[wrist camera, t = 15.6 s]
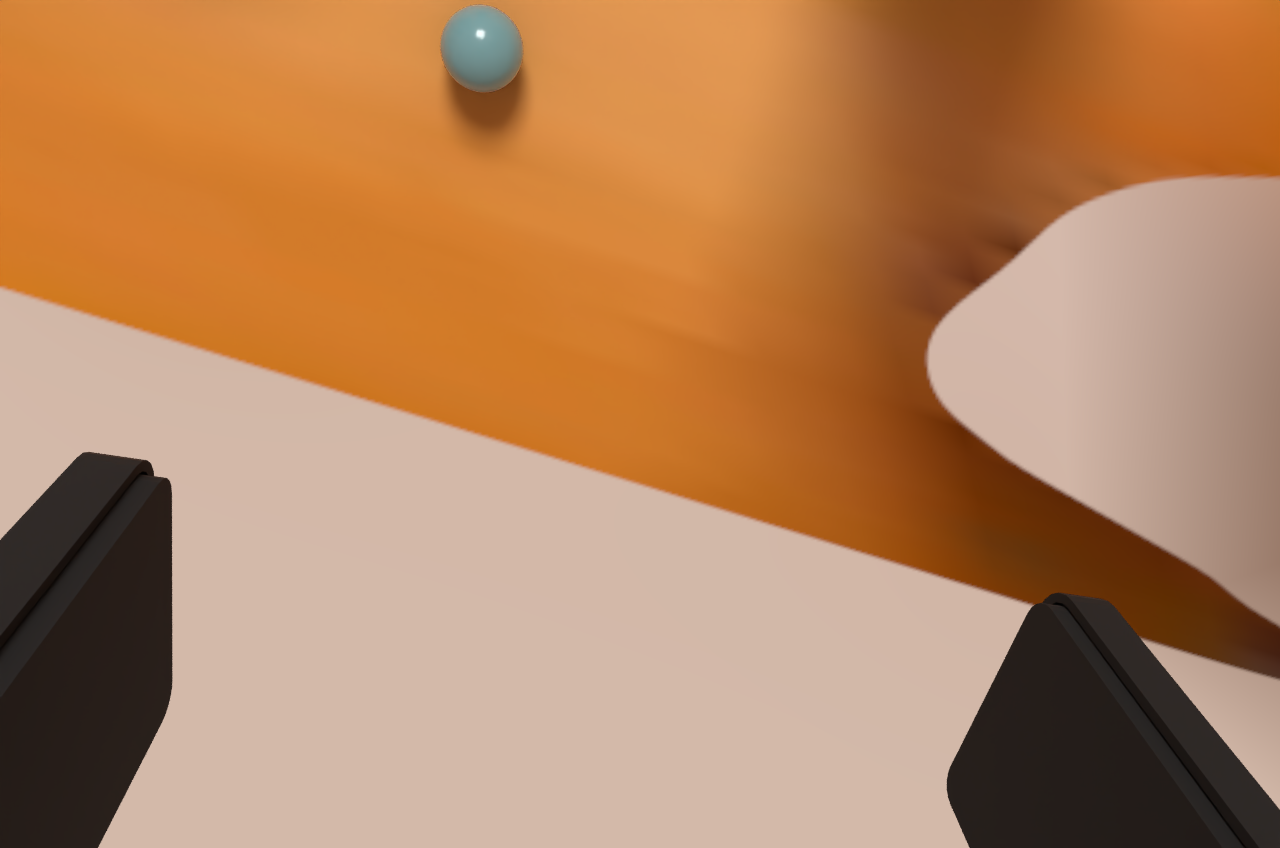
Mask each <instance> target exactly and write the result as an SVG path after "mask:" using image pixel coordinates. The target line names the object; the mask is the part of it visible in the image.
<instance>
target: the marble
mask: <svg viewBox="0 0 1280 848" xmlns="http://www.w3.org/2000/svg"><path fill="white" fill-rule="evenodd" d="M440 50H441V56H442V60H443V63H444V65H445V67H446V69H447V71H448V72H449V74H450V75H451V77H452V78H453V79H454V80H455V81H456V82H457V83H459V84H460V85H462V86H463V87H465V88H467V89H469V90H472V91H475V92H483V93H487V92H494V91H497V90H499V89H501V88H503V87H505V86H506V85H508V84H509V83H510V82H511V81H512V80H513V79H514V78H515V76H516V75H517V73H518V71H519V69H520V67H521V64H522V60H523V42H522V38H521V35H520V33H519V30H518V28H517V26H516V25H515V24H514V22H513V21H512V20H511V19H510V17H508V16H507V15H506V14H505V13H504V12H502V11H500V10H499V9H497V8H494V7H492V6H488V5H482V4H479V5H471V6H467V7H464V8H462V9H460V10H459V11H457V12H456V13H455V14H454V15H453V16H451V18H450V19H449V20H448V22H447V23H446V25H445V27H444V29H443V32H442V36H441V42H440Z"/></svg>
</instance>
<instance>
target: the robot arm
mask: <svg viewBox="0 0 1280 848" xmlns="http://www.w3.org/2000/svg"><path fill="white" fill-rule="evenodd" d="M171 690H172V490H171V484H170V481H169V480H168V479H167V478H163V477H155V476H154V471H153V468H152V465H151V463H150V462H148V461H147V460H141V459H134V458H127V457H120V456H113V455H106V454H100V453H92V452H85V453H82V454H81V455H80V456H79V457H77V458H76V459H75V460H74V461H73V462H72V464H71V465H70V466H69V467H68V468H67V469H66V470H65V471H64V472H63V473H62V474H61V475H60V476H59V477H58V478H57V480H56V481H55V482H54V483H53V484H52V485H51V486H50V487H49V488H48V489H47V490H46V491H45V492H44V494H43V495H42V496H41V497H40V498H39V499H38V500H37V501H36V502H35V503H34V504H33V506H31V507H30V509H29V510H28V511H27V512H26V513H25V514H24V515H23V516H22V517H21V518H20V519H19V520H18V521H17V522H16V524H15V525H14V526H13V527H12V528H11V529H10V530H9V531H8V532H7V534H5V535H4V536H3V538H2V539H1V540H0V848H98V847H99V844H100V843H101V841H102V839H103V837H104V835H105V833H106V831H107V829H108V827H109V825H110V823H111V821H112V819H113V817H114V815H115V813H116V811H117V809H118V807H119V805H120V803H121V802H122V799H123V798H124V796H125V794H126V792H127V790H128V788H129V786H130V784H131V782H132V780H133V778H134V776H135V774H136V772H137V770H138V768H139V766H140V764H141V762H142V760H143V758H144V757H145V755H146V752H147V751H148V749H149V747H150V745H151V743H152V741H153V739H154V737H155V735H156V733H157V731H158V729H159V727H160V725H161V723H162V721H163V719H164V716H165V714H166V711H167V708H168V705H169V701H170V696H171ZM947 793H948V798H949V801H950V804H951V806H952V809H953V811H954V813H955V815H956V818H957V820H958V822H959V825H960V827H961V829H962V832H963V834H964V836H965V838H966V840H967V843H968V845H969V847H970V848H1280V810H1279V808H1278V807H1277V806H1276V805H1275V803H1274V802H1273V801H1272V800H1271V798H1270V797H1269V796H1268V795H1267V794H1266V792H1265V791H1264V790H1263V789H1262V787H1261V786H1260V785H1259V784H1258V782H1257V781H1256V780H1255V779H1254V778H1253V776H1252V775H1251V774H1250V773H1249V772H1248V770H1247V769H1246V768H1245V767H1244V765H1243V764H1242V763H1241V762H1240V760H1239V759H1238V758H1237V757H1236V756H1235V754H1234V753H1233V752H1232V751H1231V749H1229V747H1228V746H1227V744H1226V743H1225V742H1224V741H1223V739H1222V738H1221V737H1220V736H1219V735H1218V733H1217V732H1216V731H1215V730H1214V728H1213V727H1212V726H1211V725H1210V724H1209V722H1208V721H1207V720H1206V719H1205V717H1204V716H1203V715H1202V714H1201V712H1200V711H1199V710H1198V709H1197V708H1196V706H1195V705H1194V704H1193V703H1192V701H1191V700H1190V699H1189V698H1188V697H1187V695H1186V694H1185V693H1184V692H1183V690H1182V689H1181V688H1180V687H1179V685H1178V684H1177V683H1176V682H1175V681H1174V679H1173V678H1172V677H1171V676H1170V674H1169V673H1168V672H1167V671H1166V670H1165V668H1164V667H1163V666H1162V665H1161V663H1160V662H1159V661H1158V660H1157V658H1156V657H1155V656H1154V655H1153V654H1152V653H1151V651H1150V650H1149V649H1148V647H1147V646H1146V645H1145V644H1144V643H1143V641H1142V640H1141V639H1140V638H1139V636H1138V635H1137V634H1136V633H1135V631H1134V630H1133V629H1132V628H1131V627H1130V625H1129V624H1128V623H1127V622H1126V620H1125V619H1124V618H1123V617H1122V615H1121V614H1120V613H1119V612H1118V611H1117V609H1116V608H1115V607H1114V606H1113V605H1112V604H1111V603H1109V602H1108V601H1106V600H1103V599H1099V598H1092V597H1085V596H1078V595H1071V594H1064V593H1055V594H1051V595H1050V596H1049V597H1047V598H1046V599H1045V600H1044V601H1043V603H1039V604H1036V605H1034V606H1033V607H1032V608H1031V609H1030V611H1029V612H1028V614H1027V615H1026V617H1025V620H1024V621H1023V623H1022V625H1021V627H1020V629H1019V632H1018V633H1017V635H1016V637H1015V639H1014V641H1013V643H1012V645H1011V647H1010V649H1009V651H1008V654H1007V655H1006V657H1005V659H1004V661H1003V663H1002V665H1001V667H1000V669H999V671H998V673H997V675H996V677H995V679H994V681H993V683H992V685H991V687H990V689H989V691H988V693H987V695H986V697H985V699H984V701H983V703H982V705H981V707H980V709H979V711H978V713H977V715H976V717H975V719H974V721H973V723H972V725H971V727H970V729H969V731H968V733H967V735H966V737H965V739H964V741H963V743H962V745H961V747H960V749H959V751H958V753H957V755H956V757H955V759H954V761H953V763H952V765H951V766H950V769H949V772H948V777H947Z"/></svg>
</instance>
